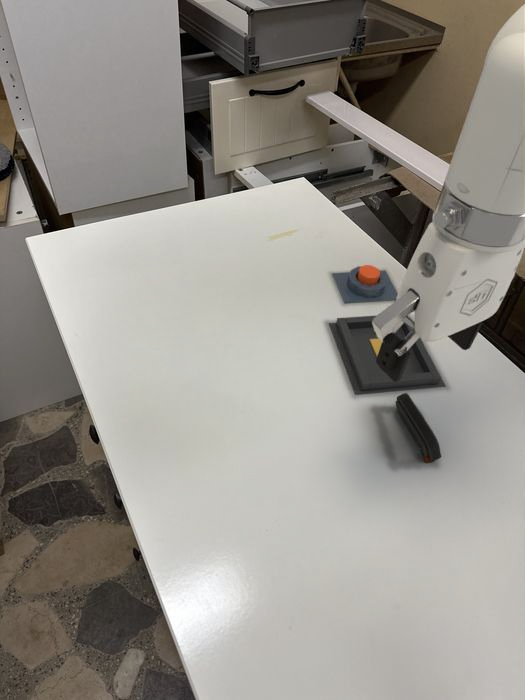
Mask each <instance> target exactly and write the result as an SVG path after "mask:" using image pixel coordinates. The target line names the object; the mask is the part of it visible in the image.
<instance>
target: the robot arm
mask: <svg viewBox="0 0 525 700" xmlns="http://www.w3.org/2000/svg"><path fill="white" fill-rule="evenodd" d="M469 105H470V106H469V109H468V111H467V114H466V118H465V120H464V123H463V126H462V129H461V132H460V135H459V137H458V141H457V143H456V145H455V149H454V152H453V155H452V158H451V161H450V163H449V167H448V170H447V172H446V175H445V179H444V182H443V184H442V188H441V189H440V193H439V196H438V199H437V202H436V205H435V207H434V209H433V212H432V221H431V222H430V223H429V224H428V225H427V227H426V229H425V231H424V233H423V234H422V237H421V238H420V240H419V242H418V244H417V247H416V249H415V251H414V253H413V255H412V257H411V259H410V262H409V264H408V266H407V268H406V271H405V273H404V276H403V278H402V281H401V284H400V287H399V289H398V292H397V293H398V295H397V299H396V300H394V302H393V303H391V304H390V305H388V306H387V307H386V308H385V309H383V310H382V311H381V312H380V313H377V315H375V316H376V317H375V318H374V319H373V320H372V324H373V327H374V331H375V335H376V336H377V337H378V338H379V339H380V340H381V341H382V344H381V347H380V350H379V353H378V356H377V359H376V363H377V364H378V366H379V367H380V368H381V369H382V370H383V371H384V372H385V373H386V374H387V375H388V376H389V377H390V378H391V379H392V380H393V381H394V382H397V381H399V380H400V379H401V377H402V375H403V372H404V370H405V367H406V365H407V362H408V359H409V357H410V352H409V351H408V349H409V348H410V347H411V346H412V345H413V344H414V343H415V342H416V341H417V340H418V339H419V338H421V340H422V342H426V343H428V342H429V343H430V342H431V343H432V342H435V341H439V340H442V339H445V338H447V337H448V338H449V339H450V340H451V341H452V342H453V343H454V344H455V345H457V346H458V347H459V348H460V349H461V350H462V351H467V350H469V349H471V347H472V345H473V343H474V341H475V339H476V338H477V336H478V333H479V331H480V329H481V327H482V325H483V321H485V320H487V319H489V318H491V317H492V316H494V314H496V313H497V312H498V310H499V308H500V306H501V304H502V302H503V300H504V298H505V297H506V294H507V292H508V290H509V288H510V285H511V282H512V281H513V279H514V278H515V276H516V272H517V269H518V267H519V264H520V262H521V259H522V256H523V254H524V251H525V3H524V4H523V5H521V7H519V8H518V9H517V10H516V11H515V12H514V13H513V14H512V15H511V16H510V17H509V18H508V19H507V21H506V22H505V23H504V24H503V26H502V27H501V28H500V29H499V31H498V32H497V33H496V35H495V37H494V38H493V39H492V42H491V44H490V46H489V48H488V50H487V53H486V56H485V59H484V63H483V68H482V71H481V73H480V76H479V79H478V83H477V85H476V88H475V90H474V93H473V97H472V99H471V103H470V104H469ZM412 313H414V319H412V318H411V317H410V315H411V314H412ZM403 323H405V324H406V325H407V326H408V327H409V328H411V329H412V330H411V332H410V333H409V334H408V335H407V336H406V337H405V338H404V339H403V340H401V339H400V338H399V337H398V336H397V335H396V334H395V332H396V331H397V330H398V329H399V328H400V327H401V326H402V324H403Z"/></svg>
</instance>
